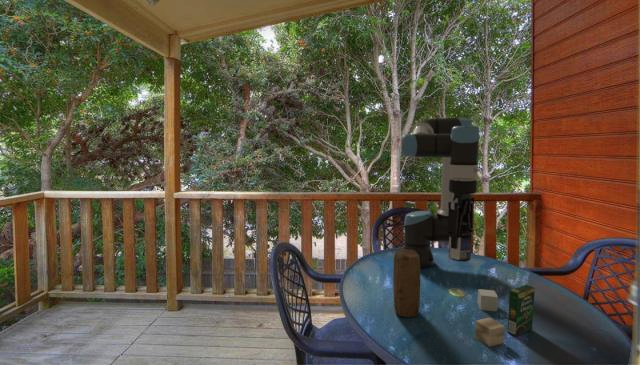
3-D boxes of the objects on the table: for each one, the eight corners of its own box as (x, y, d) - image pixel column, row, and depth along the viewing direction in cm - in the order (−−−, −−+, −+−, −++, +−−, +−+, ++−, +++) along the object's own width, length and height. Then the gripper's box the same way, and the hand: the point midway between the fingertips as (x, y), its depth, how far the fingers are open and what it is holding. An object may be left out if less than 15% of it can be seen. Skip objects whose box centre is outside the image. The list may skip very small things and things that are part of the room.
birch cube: (475, 337, 97) (475, 320, 96) (488, 333, 99) (489, 317, 98) (489, 347, 92) (490, 329, 92) (503, 343, 94) (504, 326, 93)
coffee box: (515, 337, 96) (518, 293, 95) (506, 332, 99) (508, 289, 97) (533, 330, 100) (536, 287, 99) (523, 325, 103) (526, 283, 101)
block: (420, 319, 106) (422, 257, 104) (396, 318, 107) (397, 256, 105) (413, 303, 117) (414, 246, 115) (391, 302, 118) (392, 246, 115)
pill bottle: (473, 258, 103) (475, 222, 102) (466, 263, 99) (468, 226, 97) (452, 254, 107) (454, 219, 106) (445, 258, 103) (446, 222, 101)
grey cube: (477, 303, 117) (478, 289, 117) (493, 304, 116) (494, 290, 116) (480, 309, 113) (481, 295, 112) (497, 311, 111) (498, 297, 111)
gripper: (462, 183, 91) (458, 267, 93) (487, 177, 104) (483, 251, 107) (435, 181, 96) (432, 260, 99) (463, 175, 110) (459, 246, 112)
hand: (459, 255), depth 103 cm, fingers closed on pill bottle, 6 cm apart
